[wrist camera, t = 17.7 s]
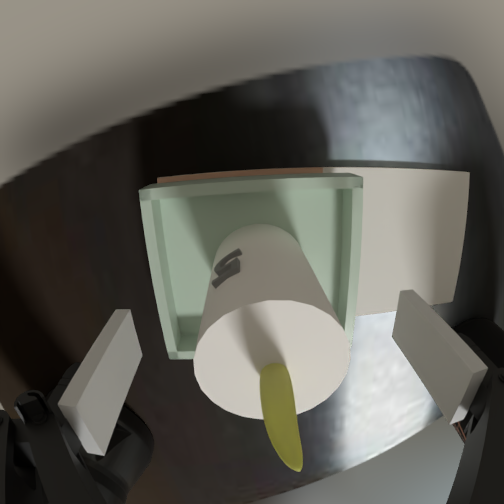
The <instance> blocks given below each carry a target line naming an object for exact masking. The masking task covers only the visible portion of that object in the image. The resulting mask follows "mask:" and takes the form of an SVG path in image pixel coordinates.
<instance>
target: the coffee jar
mask: <svg viewBox="0 0 504 504" xmlns="http://www.w3.org/2000/svg"><path fill="white" fill-rule="evenodd" d="M453 330H454V331H455V332H456V333H462V334H464V335H466V336H467V337H469V338H470V339H471V340H472V341H473V342H474V343H475V344H476V346H478V347H479V348H480V349H481V351H483V352H484V354H485V355H486V356H487V357H488V358H489V359H490V360H491V361H492V362H493V363H494V364H495V365H496V367H497V368H504V331H503V330H502V329H501V328H500V327H499V326H498V325H497V324H495V323H494V322H493V321H490V320H488V319H485V318H482V319H470V320H467V321H465V322H463V323H460V324H459V325H458V326H456V327H455V328H453ZM472 416H473V414H472V412H471V411H470V409H469V410H468V412H467V414H466V416H465V418H464V419H463V420H461V421H458V422H455V423H453V426H454V427H455V429H456V431H457V432H458V434H459V436H460V437H461V439H462V441H463V442H464V444H465V441H466V437H467V432H468V430H467V431H466V433H463V432H464V430H465V428H466V426H467V425H468V423H469V421H470V419H471V417H472Z"/></svg>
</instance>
